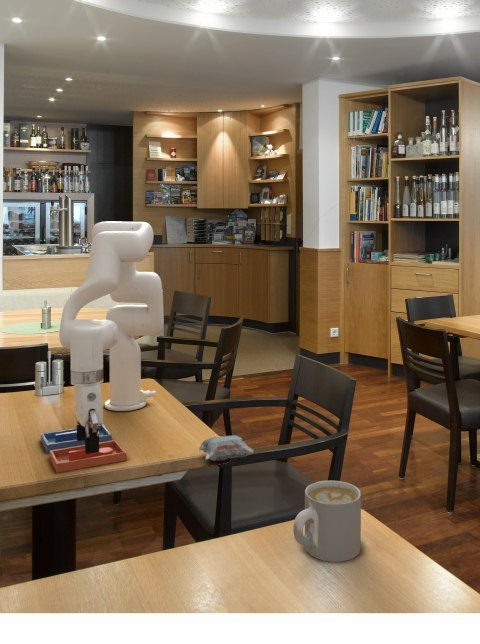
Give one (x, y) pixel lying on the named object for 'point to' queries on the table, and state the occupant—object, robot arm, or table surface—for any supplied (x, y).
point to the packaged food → (225, 448)
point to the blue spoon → (66, 436)
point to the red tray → (63, 464)
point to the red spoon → (82, 455)
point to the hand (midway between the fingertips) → (87, 446)
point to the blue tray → (50, 443)
